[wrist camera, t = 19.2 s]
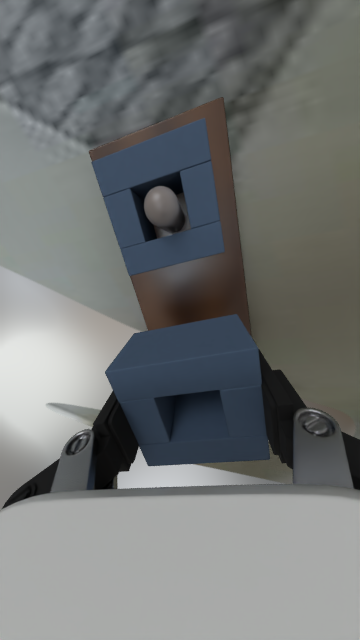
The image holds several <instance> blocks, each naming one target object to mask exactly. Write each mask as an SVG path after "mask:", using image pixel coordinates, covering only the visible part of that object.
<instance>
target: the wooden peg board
mask: <svg viewBox="0 0 360 640" xmlns="http://www.w3.org/2000/svg"><path fill="white" fill-rule="evenodd" d="M203 118H205V120H206V127H207V133H208V140H209V147H210V154H211V162H212V168H213V175H214V181H215V188H216V195H217V202H218V208H219V215H220V222H221V228H222V235H223V242H224V249H225V252H223V253H220V254H216V255H212V256H208V257H204V258H200V259H196V260H192V261H188V262H184V263H180V264H176V265H172V266H168V267H164V268H160V269H156V270H152V271H148V272H144V273H140V274H136V275H132V276H130V277H131V280H132V283H133V286H134V289H135V292H136V295H137V298H138V301H139V304H140V307H141V310H142V313H143V316H144V319H145V322H146V325H147V328H148V331H150V330H155V329H160V328H166V327H171V326H176V325H181V324H187V323H192V322H197V321H202V320H207V319H213V318H218V317H223V316H228V315H234V314H237V315H238V316H239V318H240V320H241V321H242V323H243V324H244V326H245V328H246V329H247V331H248V333H249V334H250V336H251V328H250V320H249V311H248V303H247V294H246V286H245V277H244V269H243V260H242V251H241V243H240V234H239V226H238V217H237V209H236V200H235V192H234V183H233V175H232V166H231V158H230V149H229V141H228V132H227V124H226V115H225V107H224V98H223V97H221V98H218V99H216V100H213V101H211V102H208V103H206V104H203V105H201V106H198V107H196V108H194V109H191V110H189V111H186V112H184V113H181V114H179V115H176V116H174V117H171V118H169V119H166V120H164V121H161V122H159V123H156V124H154V125H151V126H149V127H146V128H144V129H142V130H139V131H137V132H134V133H132V134H129V135H127V136H124V137H122V138H119V139H117V140H114V141H112V142H109V143H107V144H104V145H102V146H99V147H97V148H94V149H92V150H90V151H89V154H90V157H91V160H92V161H95V160H97V159H100V158H103V157H105V156H108V155H110V154H113V153H115V152H118V151H120V150H123V149H126V148H128V147H131V146H133V145H136V144H138V143H141V142H144V141H146V140H149V139H151V138H154V137H156V136H159V135H161V134H164V133H167V132H169V131H172V130H174V129H177V128H179V127H182V126H185V125H187V124H190V123H192V122H195V121H197V120H200V119H203ZM144 210H145V214H146V216H147V218H148V219H149V221H150V222H151V223H152V224H153V225H154V229H155V233H156V237H157V239H158V238H162V237H165V236H169V235H172V234H176V233H179V232H183V231H186V230H190V229H191V227H190V222H189V217H188V212H187V207H186V202H185V197H184V192H183V193H180V194H177V195H175V193H174V192H173V191H172V190H171V189H169V188H167V187H165V186H157V187H154V188H152V189H151V190H150V191H149V192H148V193H147V195H146V198H145V201H144Z"/></svg>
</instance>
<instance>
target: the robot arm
mask: <svg viewBox="0 0 360 640" xmlns="http://www.w3.org/2000/svg"><path fill="white" fill-rule="evenodd" d="M258 350H259V349H258ZM259 360H260V369H261V379H262V384H261V388H262V397H263V406H264V415H265V425H266V435H267V437H268V440H269V443H270V445H271V448H272V451H273V453H274V455H279V457H280V460H281V462H282V463H286V464H287V466H288V467H290V468H291V469H293V484H267V485H266V484H259V485H223V486H191V487H160V488H133V489H132V488H131V489H117V475H118V473H119V472H121V471H129V469H130V466H131V463H133V462H134V460H135V457H136V454H137V450H138V447H139V444H138V442H137V439H136V437H135V435H134V433H133V431H132V429H131V426H130V424H129V422H128V420H127V418H126V416H125V413H124V411H123V409H122V407H121V405H120V403H119V402H118V399H117V397H116V395H115V393H114V391H113V392H112V393H111V395H110V397H109V398H108V400H107V401H106V403H105V405H104V406H103V408H102V410H101V411H100V413H99V415H98V416H97V418H96V420H95V421H94V423H93V425H94V426H93V428H92V430H90V429H85V430H82V431H80V432H78V433H77V434H75V435H74V436H73V437H71V438H70V440H69V441H68V442H67V443H66V444H65V446H64V448H63V451H62V454H61V457H60V459H58V460H57V461H55V462H54V463H53V464H51V465H50V466H49V467H47V468H46V469H44V470H43V471H42V472H40V473H39V474H38V475H36V476H35V477H33V478H32V479H31V480H29V481H28V482H27V483H25V484H24V485H22V486H21V487H20V488H19V489H18V490H16V491H15V492H14V493H13V494H12V495H11V497H10V498H9V499H8V500H7V502H6V503H5V505H4V506H3V508H2V509H1V510H0V640H360V440H359V439H357V438H354V437H352V436H350V435H348V434H346V433H343V432H341V429H340V427H339V424H338V423H337V421H335V419H334V418H333V417H331V416H330V415H329V414H327V413H325V412H323V411H321V410H318V409H315V408H307V407H306V405H305V404H304V403H303V401H302V400H301V398H300V397H299V395H298V394H297V392H296V391H295V390H294V388H293V387H292V385H291V384H290V382H289V381H288V380H287V378H286V377H285V375H284V374H283V372H282V371H281V370H273V371H272V369H271V368H270V366H269V364H268V363H267V361H266V360H265V358H264V356H263V355H262V353H261V351H260V350H259Z"/></svg>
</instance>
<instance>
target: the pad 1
mask: <svg viewBox="0 0 360 640" xmlns="http://www.w3.org/2000/svg"><path fill="white" fill-rule="evenodd" d="M92 165H93V168H94V171H95V174H96V177H97V180H98V183H99V186H100V189H101V192H102V195H103V197H104V198H103V199H104V202H105V205H106V208H107V211H108V214H109V217H110V220H111V223H112V226H113V229H114V232H115V235H116V238H117V241H118V244H119V247H120V249H121V252H122V255H123V258H124V261H125V264H126V267H127V270H128V273H129V276H132V275H136V274H140V273H144V272H148V271H152V270H156V269H160V268H164V267H168V266H172V265H176V264H180V263H184V262H188V261H192V260H196V259H200V258H204V257H208V256H212V255H216V254H220V253H223V252H225V249H224V242H223V235H222V228H221V222H220V215H219V208H218V202H217V195H216V188H215V181H214V175H213V168H212V162H211V154H210V147H209V140H208V133H207V127H206V120H205V118H203V119H200V120H197V121H195V122H192V123H190V124H187V125H185V126H182V127H179V128H177V129H174V130H172V131H169V132H167V133H164V134H161V135H159V136H156V137H154V138H151V139H149V140H146V141H144V142H141V143H138V144H136V145H133V146H131V147H128V148H126V149H123V150H120V151H118V152H115V153H113V154H110V155H108V156H105V157H103V158H100V159H97V160H95V161H92ZM157 186H165V187H167V188H169V189H171V190H172V191H173V192H174V193H175V195H177V194H180V193H183V192H184V197H185V202H186V207H187V212H188V217H189V222H190V227H191V229H190V230H186V231H183V232H179V233H176V234H172V235H169V236H165V237H162V238H158V239H157V237H156V233H155V229H154V225H153V224H152V223H151V222H150V221H149V219H148V218H147V216H146V214H145V210H144V201H145V198H146V195H147V193H148V192H149V191H150V190H151V189H152V188H154V187H157Z"/></svg>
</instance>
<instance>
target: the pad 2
mask: <svg viewBox="0 0 360 640" xmlns="http://www.w3.org/2000/svg"><path fill="white" fill-rule="evenodd" d="M105 374H106V376H107V378H108V380H109V382H110V384H111V386H112V389H113V391H114V393H115V395H116V397H117V399H118V402H119V403H120V405H121V407H122V409H123V411H124V413H125V416H126V418H127V420H128V422H129V424H130V426H131V429H132V431H133V433H134V435H135V437H136V439H137V442H138V444H139V447H140V449H141V451H142V453H143V456H144V458H145V460H146V462H147V464H148V466H160V465H180V464H198V463H216V462H234V461H253V460H269V459H270V454H269V445H268V437H267V435H266V425H265V415H264V406H263V397H262V388H261V384H262V379H261V369H260V360H259V350H258V347H257V345H256V344H255V342H254V341H253V339H252V337H251V336H250V334H249V333H248V331H247V329H246V328H245V326H244V324H243V323H242V321H241V320H240V318H239V316H238V315H237V314H234V315H228V316H223V317H218V318H213V319H207V320H202V321H197V322H192V323H187V324H181V325H176V326H171V327H166V328H160V329H155V330H150V331H145V332H140V333H134V334H133V336H132V337H131V338H130V340H129V341H128V342H127V344H126V345H125V346H124V347H123V349H122V350H121V351H120V353H119V354H118V355H117V357H116V358H115V359H114V361H113V362H112V363H111V365H110V366H109V367H108V369H107V370H106V371H105Z"/></svg>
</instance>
